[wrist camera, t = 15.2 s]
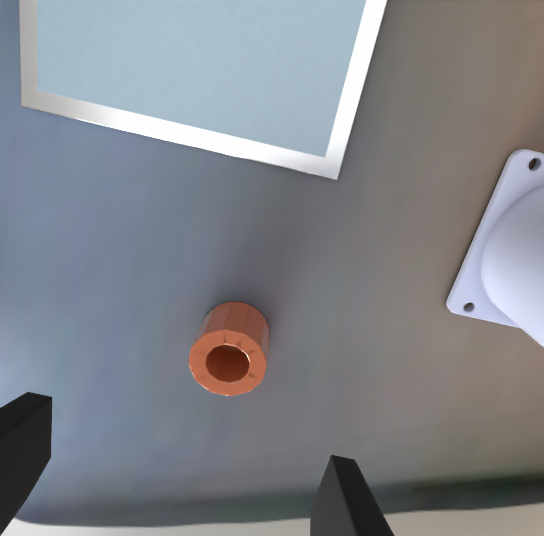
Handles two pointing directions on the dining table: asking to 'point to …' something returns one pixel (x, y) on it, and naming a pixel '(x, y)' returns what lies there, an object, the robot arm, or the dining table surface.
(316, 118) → the tablet
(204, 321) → the pen holder
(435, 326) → the dining table surface
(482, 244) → the robot arm
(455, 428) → the dining table surface
